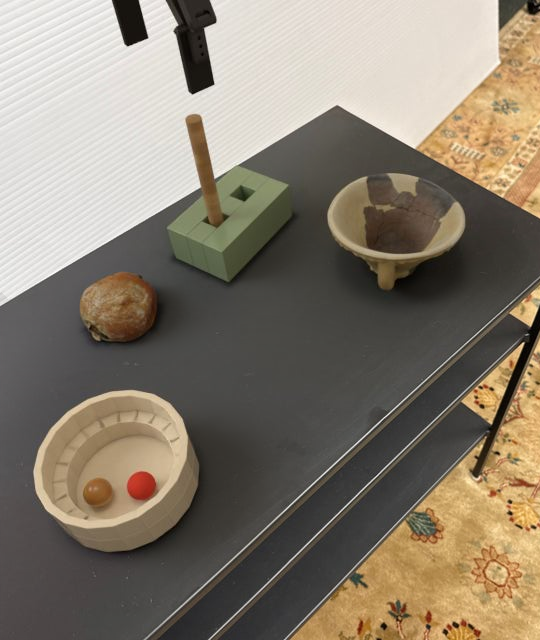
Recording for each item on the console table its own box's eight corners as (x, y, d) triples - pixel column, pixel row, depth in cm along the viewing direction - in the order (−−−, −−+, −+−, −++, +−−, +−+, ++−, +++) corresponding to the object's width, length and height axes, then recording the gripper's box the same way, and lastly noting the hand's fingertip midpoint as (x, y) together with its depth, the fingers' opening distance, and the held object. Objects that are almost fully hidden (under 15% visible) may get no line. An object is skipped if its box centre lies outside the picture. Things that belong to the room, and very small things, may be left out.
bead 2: (125, 496, 70) (117, 483, 68) (144, 474, 71) (136, 461, 69) (145, 509, 69) (138, 497, 66) (164, 487, 70) (157, 474, 68)
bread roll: (87, 341, 90) (55, 327, 82) (111, 272, 92) (82, 252, 84) (151, 356, 87) (124, 343, 80) (174, 285, 90) (150, 266, 82)
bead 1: (82, 502, 70) (73, 490, 67) (102, 480, 71) (93, 468, 69) (102, 516, 69) (93, 504, 66) (122, 493, 70) (113, 481, 68)
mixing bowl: (28, 506, 70) (1, 477, 65) (127, 402, 79) (110, 368, 73) (133, 583, 65) (113, 558, 59) (228, 461, 73) (217, 430, 67)
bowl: (448, 319, 85) (457, 268, 77) (316, 296, 88) (312, 245, 81) (465, 229, 95) (474, 177, 88) (346, 212, 99) (345, 161, 92)
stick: (213, 251, 95) (181, 120, 78) (221, 242, 96) (192, 111, 79) (223, 255, 94) (194, 124, 77) (232, 247, 95) (204, 116, 78)
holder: (175, 258, 94) (166, 227, 90) (241, 195, 103) (236, 164, 98) (228, 282, 91) (221, 251, 86) (292, 215, 99) (289, 184, 94)
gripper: (231, -162, 48) (264, 96, 64) (82, -212, 61) (141, 13, 77) (143, -137, 45) (200, 126, 61) (6, -196, 58) (84, 35, 74)
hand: (167, 64), depth 69 cm, fingers open, 13 cm apart
